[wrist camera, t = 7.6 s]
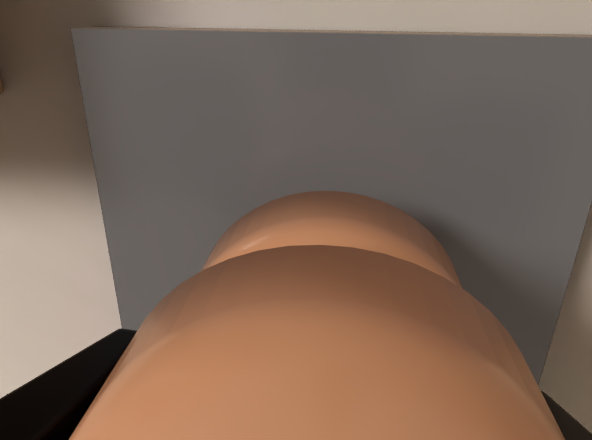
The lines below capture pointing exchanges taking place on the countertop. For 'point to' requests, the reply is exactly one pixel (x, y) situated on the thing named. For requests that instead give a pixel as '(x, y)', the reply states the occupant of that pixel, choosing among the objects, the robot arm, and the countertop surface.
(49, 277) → the countertop surface
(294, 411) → the peach door knob
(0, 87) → the open wooden tray
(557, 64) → the slate tile
